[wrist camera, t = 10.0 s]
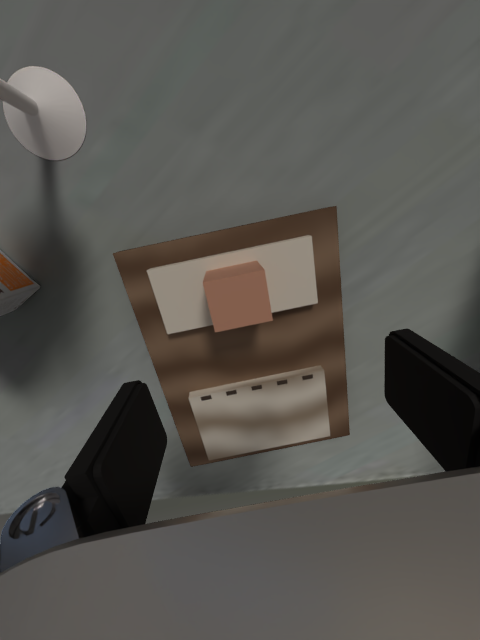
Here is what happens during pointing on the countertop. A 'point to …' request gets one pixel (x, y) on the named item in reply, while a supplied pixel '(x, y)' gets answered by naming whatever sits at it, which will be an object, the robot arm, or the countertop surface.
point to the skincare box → (13, 285)
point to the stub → (236, 286)
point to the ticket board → (249, 350)
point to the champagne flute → (43, 112)
